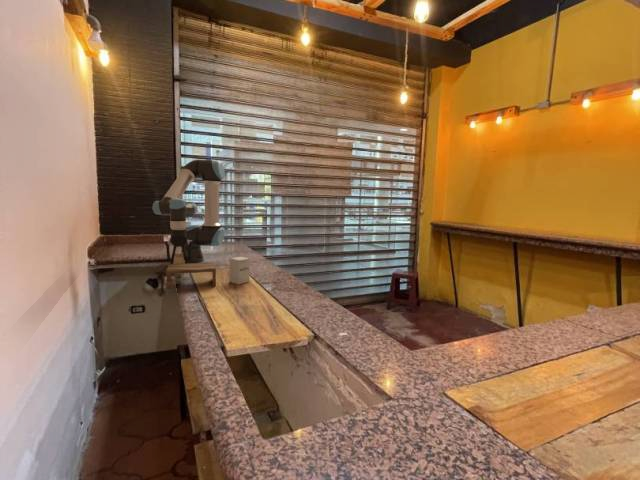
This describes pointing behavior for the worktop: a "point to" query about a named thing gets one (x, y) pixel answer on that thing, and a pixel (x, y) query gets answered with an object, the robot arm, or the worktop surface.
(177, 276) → the tan wood-grain block
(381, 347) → the worktop surface
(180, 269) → the brown wooden stand
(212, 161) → the robot arm
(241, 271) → the grey canister
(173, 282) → the brown square block
